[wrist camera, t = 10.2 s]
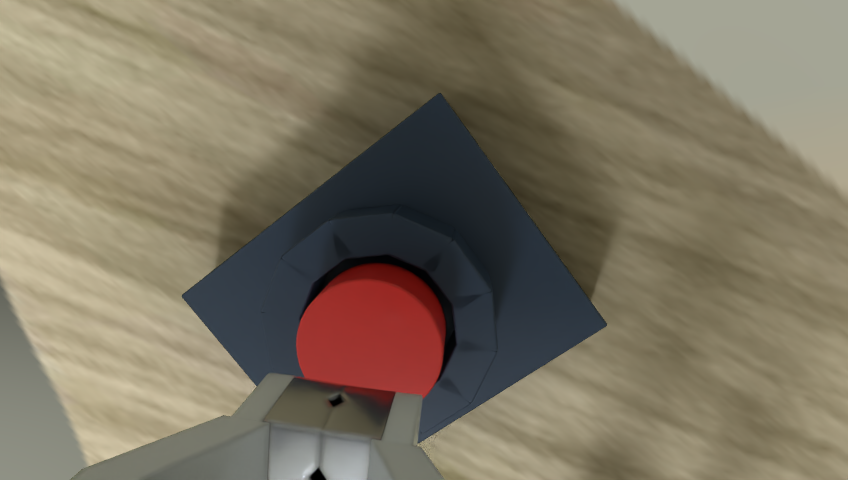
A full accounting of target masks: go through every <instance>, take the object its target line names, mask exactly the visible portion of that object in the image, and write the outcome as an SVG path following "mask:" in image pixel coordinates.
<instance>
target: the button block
mask: <svg viewBox="0 0 848 480" xmlns="http://www.w3.org/2000/svg"><path fill="white" fill-rule="evenodd" d="M367 263H386V264H391V265H396V266H399V267H402V268H404V269H406V270H408V271H410V272H412V273H414V274H415V275H417V276H418V277H420V278H421V279H422V280H423V281H424V282H425V283H427V284H428V286H429V287H430V288H431V289H432V290H433V292H434V293H435V295H436V296H437V298H438V300H439V302H440V304H441V306H442V309H443V312H444V316H445V321H446V336H445V346H444V355H443V363H442V368H441V372H440V374H439V377H438V379H437V381H436V383H435V385H434V387H433V388H432V389H431V391H430V392H429V393H428V395H427V396H426V397H425V398H424V399H423V400H422V409H421V417H420V425H419V433H418V441H417V444H418V443H420V442H421V441H423V440H425V439H426V438H428V437H429V436H431V435H433V434H434V433H436V432H437V431H439V430H441V429H442V428H444V427H445V426H447V425H449V424H450V423H452V422H453V421H455V420H457V419H458V418H460V417H461V416H463V415H465V414H466V413H468V412H469V411H471V410H473V409H474V408H476V407H478V406H479V405H481V404H482V403H484V402H486V401H487V400H489V399H490V398H492V397H494V396H495V395H497V394H498V393H500V392H502V391H503V390H505V389H506V388H508V387H510V386H511V385H513V384H514V383H516V382H518V381H519V380H521V379H522V378H524V377H526V376H527V375H529V374H530V373H532V372H534V371H535V370H537V369H538V368H540V367H542V366H543V365H545V364H546V363H548V362H550V361H551V360H553V359H554V358H556V357H558V356H559V355H561V354H562V353H564V352H566V351H567V350H569V349H570V348H572V347H574V346H575V345H577V344H579V343H580V342H582V341H583V340H585V339H587V338H588V337H590V336H591V335H593V334H595V333H596V332H598V331H599V330H601V329H603V328H604V327H606V326H607V323H606V322H605V321H604V319H603V318H602V316H601V315H600V314H599V312H598V311H597V309H596V308H595V307H594V305H593V304H592V302H591V301H590V300H589V298H588V297H587V296H586V294H585V293H584V291H583V290H582V289H581V287H580V286H579V284H578V283H577V282H576V280H575V279H574V277H573V276H572V275H571V273H570V272H569V270H568V269H567V268H566V266H565V265H564V264H563V262H562V261H561V259H560V258H559V257H558V255H557V254H556V252H555V251H554V250H553V248H552V247H551V245H550V244H549V243H548V241H547V240H546V239H545V237H544V236H543V234H542V233H541V232H540V230H539V229H538V227H537V226H536V225H535V223H534V222H533V220H532V219H531V218H530V216H529V215H528V213H527V212H526V211H525V209H524V208H523V207H522V205H521V204H520V202H519V201H518V200H517V198H516V197H515V195H514V194H513V193H512V191H511V190H510V188H509V187H508V186H507V184H506V183H505V182H504V180H503V179H502V177H501V176H500V175H499V173H498V172H497V170H496V169H495V168H494V166H493V165H492V163H491V162H490V161H489V159H488V158H487V156H486V155H485V154H484V152H483V151H482V150H481V148H480V147H479V145H478V144H477V143H476V141H475V140H474V138H473V137H472V136H471V134H470V133H469V131H468V130H467V129H466V127H465V126H464V125H463V123H462V122H461V120H460V119H459V118H458V116H457V115H456V113H455V112H454V111H453V109H452V108H451V106H450V105H449V104H448V102H447V101H446V99H445V98H444V97H443V95H442V94H441V93H438V94H437V95H436V96H434V97H433V98H432V99H431V100H429V101H428V102H427V103H425V104H424V105H423V106H422V107H420V108H419V109H418V110H417V111H415V112H414V113H413V114H411V115H410V116H409V117H408V118H406V119H405V120H404V121H403V122H401V123H400V124H399V125H397V126H396V127H395V128H394V129H392V130H391V131H390V132H389V133H387V134H386V135H385V136H383V137H382V138H381V139H380V140H378V141H377V142H376V143H375V144H373V145H372V146H371V147H369V148H368V149H367V150H366V151H364V152H363V153H362V154H361V155H359V156H358V157H357V158H355V159H354V160H353V161H352V162H350V163H349V164H348V165H347V166H345V167H344V168H343V169H341V170H340V171H339V172H338V173H336V174H335V175H334V176H333V177H331V178H330V179H329V180H327V181H326V182H325V183H324V184H322V185H321V186H320V187H319V188H317V189H316V190H315V191H313V192H312V193H311V194H310V195H308V196H307V197H306V198H305V199H303V200H302V201H301V202H299V203H298V204H297V205H296V206H294V207H293V208H292V209H291V210H289V211H288V212H287V213H285V214H284V215H283V216H282V217H280V218H279V219H278V220H277V221H275V222H274V223H273V224H272V225H270V226H269V227H268V228H266V229H265V230H264V231H263V232H261V233H260V234H259V235H258V236H256V237H255V238H254V239H252V240H251V241H250V242H249V243H247V244H246V245H245V246H244V247H242V248H241V249H240V250H238V251H237V252H236V253H235V254H233V255H232V256H231V257H230V258H228V259H227V260H226V261H224V262H223V263H222V264H221V265H219V266H218V267H217V268H216V269H214V270H213V271H212V272H210V273H209V274H208V275H207V276H205V277H204V278H203V279H202V280H200V281H199V282H198V283H196V284H195V285H194V286H193V287H191V288H190V289H189V290H188V291H186V292H185V293H184V294H182V298H183V299H184V300H185V301H186V302H187V304H188V305H189V306H190V307H191V308H192V310H193V311H194V312H195V313H196V314H197V316H198V317H199V318H200V319H201V320H202V322H203V323H204V324H205V325H206V326H207V327H208V329H209V330H210V331H211V332H212V333H213V335H214V336H215V337H216V338H217V339H218V341H219V342H220V343H221V344H222V345H223V347H224V348H225V349H226V350H227V351H228V353H229V354H230V355H231V356H232V357H233V358H234V360H235V361H236V362H237V363H238V364H239V366H240V367H241V368H242V369H243V370H244V372H245V373H246V374H247V375H248V376H249V378H250V379H251V380H252V381H253V382H254V383H255V385H256V386H258V385H259V383H260V382H261V381H262V380H263V379H264V378H265V376H266V375H267V374H268V373H279V374H286V375H294V376H296V377H303V378H305V377H304V375H303V373H302V370H301V368H300V365H299V361H298V357H297V349H296V337H297V331H298V327H299V323H300V320H301V318H302V316H303V314H304V312H305V310H306V309H307V307H308V306H309V304H310V303H311V302H312V301H313V300H314V299H315V298H316V297H317V296H318V295H319V293H320V292H321V291H322V290H323V289H324V288H325V287H326V286H327V285H328V284H329V283H330V282H331V281H332V280H333V279H334V278H335V277H336V276H338V275H339V274H341V273H342V272H344V271H345V270H348V269H350V268H352V267H355V266H358V265H361V264H367Z"/></svg>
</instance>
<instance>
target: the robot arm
mask: <svg viewBox="0 0 848 480" xmlns="http://www.w3.org/2000/svg"><path fill="white" fill-rule="evenodd" d="M422 399H423V397H422V395H419V394H410V393H401V392H395V391H387V390H379V389H371V388H363V387H355V386H347V385H344V384H338V383H332V382H326V381H321V380H315V379H309V378H303V377H296V376H294V375H286V374H279V373H268V374H267V375H266V376H265V378H264V379H263V380H262V381H261V382H260V383H259V385H258V386H257V387H256V388H255V389H254V390H253V392H252V393H251V394H250V395H249V396H248V397H247V399H246V400H245V401H244V402H243V403H242V405H241V406H240V407H239V408H238V409H237V410H236V412H235V413H234V414H233V415H232V416H231V417H230V416H224V415H223V416H221V417H218V418H215V419H213V420H210V421H207V422H205V423H202V424H200V425H197V426H194V427H192V428H189V429H186V430H184V431H181V432H178V433H176V434H173V435H171V436H168V437H165V438H163V439H160V440H157V441H155V442H152V443H150V444H147V445H144V446H142V447H139V448H136V449H134V450H131V451H128V452H126V453H123V454H121V455H118V456H115V457H113V458H110V459H107V460H105V461H102V462H99V463H97V464H94V465H92V466H89V467H86V468H84V469H82V470H81V471H79V472H78V473H77V474H76V475H75V476H74V477H72V478H71V479H70V480H445V479H444V478H443V476H442V475H441V474H440V472H439V471H438V470H437V468H436V467H435V466H434V464H433V463H432V462H431V460H430V459H429V457H428V456H427V455H426V453H425V452H424V451H423V449H422V448H421V447H418V446H417V441H418V433H419V425H420V417H421V409H422Z"/></svg>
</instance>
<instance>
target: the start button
mask: <svg viewBox="0 0 848 480" xmlns="http://www.w3.org/2000/svg"><path fill="white" fill-rule="evenodd" d="M445 336H446V321H445V316H444V312H443V309H442V306H441V304H440V302H439V300H438V298H437V296H436V295H435V293H434V292H433V290H432V289H431V288H430V287H429V286H428V284H427V283H425V282H424V281H423V280H422V279H421V278H420V277H418V276H417V275H415V274H414V273H412V272H410V271H408V270H406V269H404V268H402V267H399V266H396V265H391V264H386V263H367V264H361V265H358V266H355V267H352V268H350V269H348V270H345V271H344V272H342V273H341V274H339V275H338V276H336V277H335V278H334V279H333V280H332V281H331V282H330V283H329V284H328V285H327V286H326V287H325V288H324V289H323V290H322V291H321V292H320V293H319V295H318V296H317V297H316V298H315V299H314V300H313V301H312V302H311V303H310V304H309V306H308V307H307V309H306V310H305V312H304V314H303V316H302V318H301V320H300V323H299V327H298V331H297V337H296V349H297V357H298V361H299V365H300V368H301V370H302V373H303V375H304V377H305V378H309V379H315V380H321V381H326V382H332V383H338V384H344V385H347V386H355V387H363V388H371V389H379V390H387V391H395V392H401V393H410V394H419V395H422V397H423V399H424V398H425V397H426V396H427V395H428V393H429V392H430V391H431V389H432V388H433V387H434V385H435V383H436V381H437V379H438V377H439V374H440V372H441V368H442V363H443V355H444V346H445ZM423 399H422V400H423Z"/></svg>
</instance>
